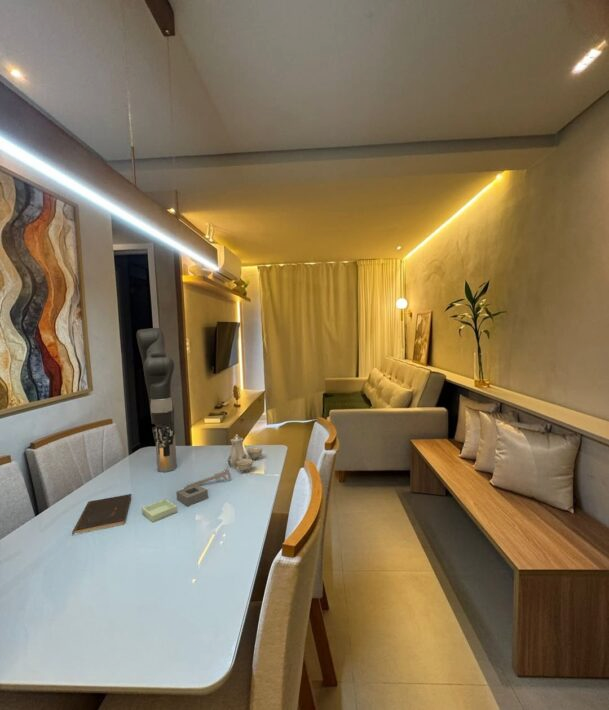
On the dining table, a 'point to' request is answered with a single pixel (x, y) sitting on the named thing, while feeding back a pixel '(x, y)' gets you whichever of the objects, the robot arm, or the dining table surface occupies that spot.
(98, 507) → the hardcover book
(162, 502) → the parts tray
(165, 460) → the fuse
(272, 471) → the dining table surface
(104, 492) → the dining table surface
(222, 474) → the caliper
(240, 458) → the chinaware
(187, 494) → the socket block
